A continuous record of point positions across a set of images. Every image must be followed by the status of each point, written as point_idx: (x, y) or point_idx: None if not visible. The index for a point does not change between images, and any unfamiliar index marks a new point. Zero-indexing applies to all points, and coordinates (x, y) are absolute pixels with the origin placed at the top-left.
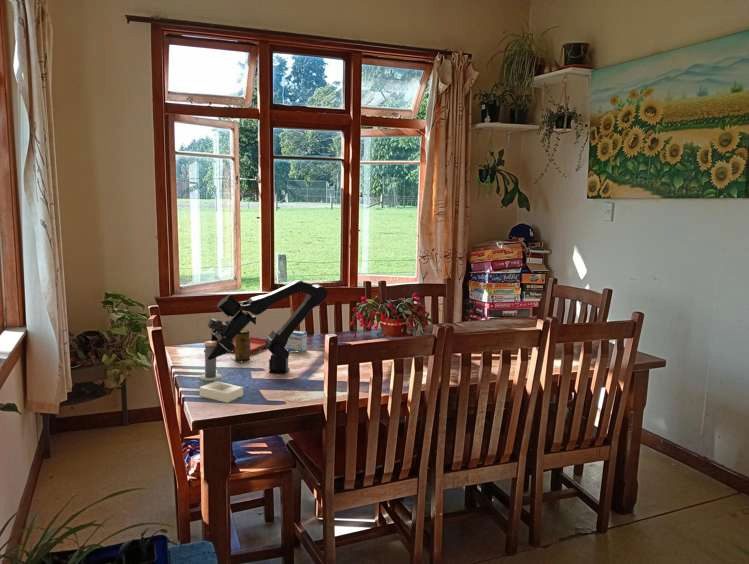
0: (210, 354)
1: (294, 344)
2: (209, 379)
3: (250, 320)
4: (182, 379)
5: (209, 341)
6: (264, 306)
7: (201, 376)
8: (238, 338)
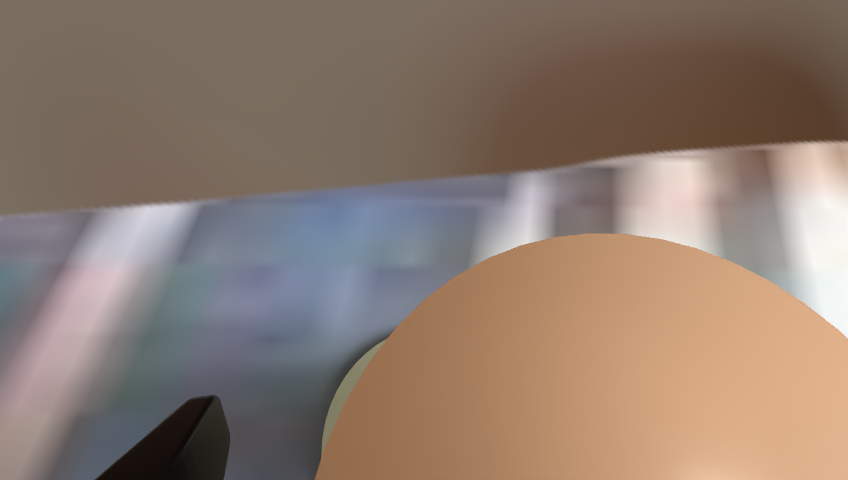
0: (105, 477)
1: None
2: (331, 430)
3: None
4: (419, 192)
5: (824, 478)
6: None
7: None
8: None
